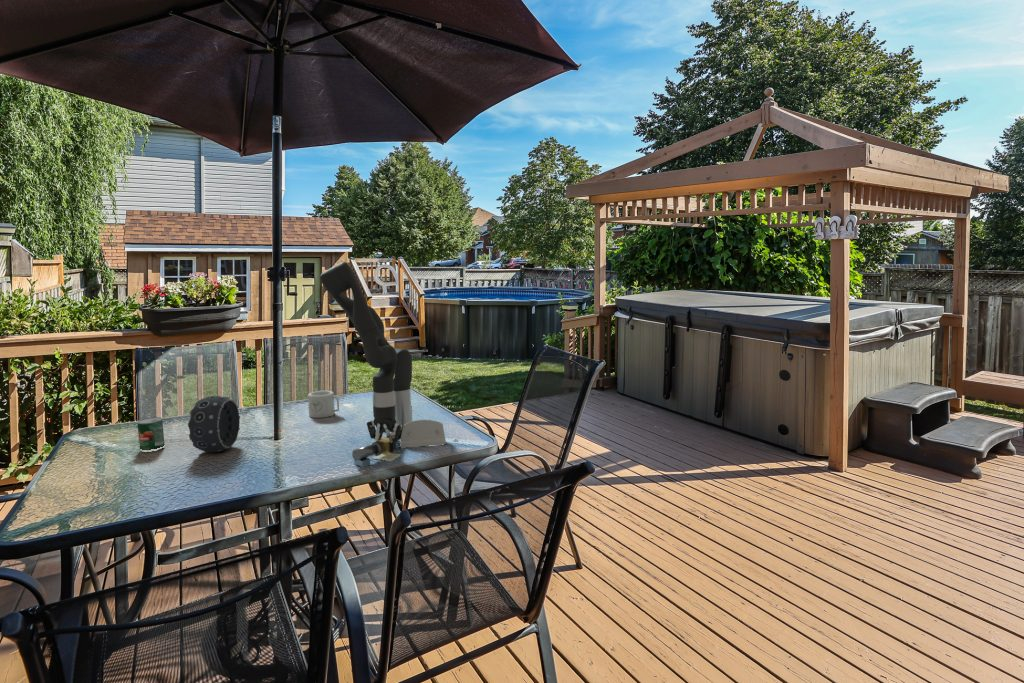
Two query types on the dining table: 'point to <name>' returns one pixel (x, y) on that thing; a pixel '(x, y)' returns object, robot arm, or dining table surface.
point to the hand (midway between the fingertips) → (386, 451)
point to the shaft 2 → (396, 442)
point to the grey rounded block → (422, 434)
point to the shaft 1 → (366, 454)
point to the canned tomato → (150, 433)
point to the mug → (322, 404)
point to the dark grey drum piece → (214, 424)
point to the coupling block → (384, 445)
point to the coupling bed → (387, 457)
